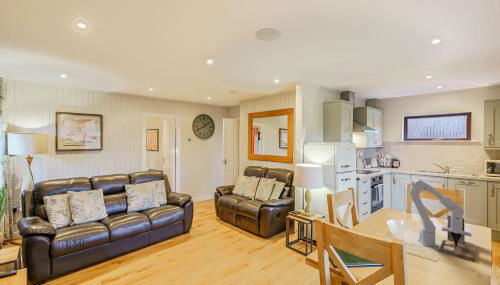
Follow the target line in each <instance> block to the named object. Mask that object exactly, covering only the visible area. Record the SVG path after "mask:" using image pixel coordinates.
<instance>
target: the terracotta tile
mask: <svg viewBox="0 0 500 285" xmlns="http://www.w3.org/2000/svg"><path fill="white" fill-rule="evenodd" d="M449 241H450V240H446V241H445V246H449V247H455V243H454V241H450V242H449Z"/></svg>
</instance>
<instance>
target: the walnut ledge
mask: <svg viewBox="0 0 500 285" xmlns="http://www.w3.org/2000/svg"><path fill="white" fill-rule="evenodd" d="M475 254H476V246H473V245H469V244H465V243H459V242H458V245H456V248H455V251H454V255H453V256H454V257H456V258H460V259H462V260H463V259H464V260H467V261H471V262H475V258H476V257H475V256H476V255H475Z"/></svg>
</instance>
